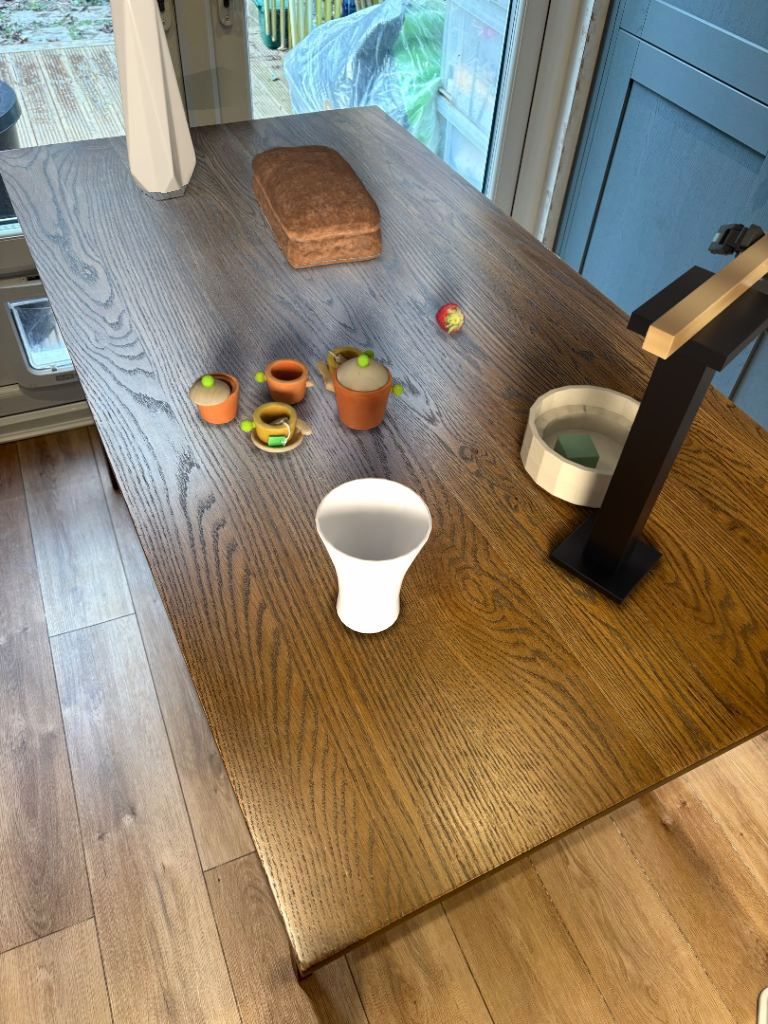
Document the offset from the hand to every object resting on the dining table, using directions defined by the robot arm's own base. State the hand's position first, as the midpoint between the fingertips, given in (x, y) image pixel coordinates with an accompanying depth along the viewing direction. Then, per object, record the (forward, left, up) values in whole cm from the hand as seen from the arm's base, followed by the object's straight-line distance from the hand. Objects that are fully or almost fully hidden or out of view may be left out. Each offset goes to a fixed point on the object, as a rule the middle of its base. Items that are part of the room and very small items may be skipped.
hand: (765, 243), depth 62 cm
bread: (+56, -58, -35) cm, 88 cm away
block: (+9, -6, -34) cm, 35 cm away
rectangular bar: (+3, +5, -2) cm, 6 cm away
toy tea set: (+44, -8, -35) cm, 57 cm away
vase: (+86, -62, -35) cm, 112 cm away
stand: (+4, +7, -34) cm, 35 cm away
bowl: (+7, -8, -34) cm, 36 cm away
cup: (+28, +20, -35) cm, 49 cm away
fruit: (+28, -33, -35) cm, 56 cm away
